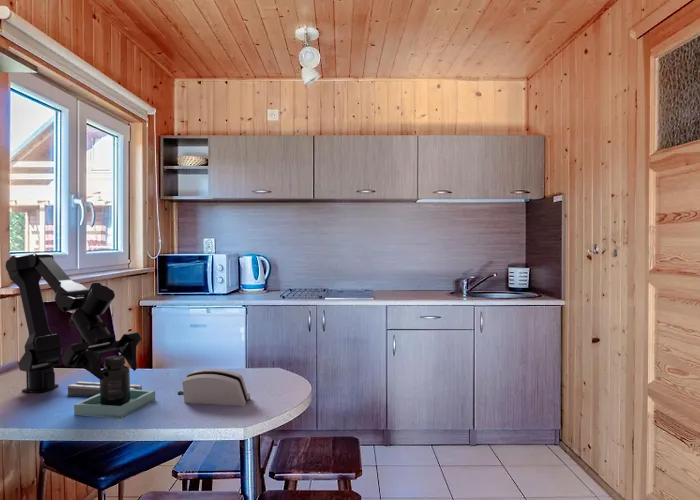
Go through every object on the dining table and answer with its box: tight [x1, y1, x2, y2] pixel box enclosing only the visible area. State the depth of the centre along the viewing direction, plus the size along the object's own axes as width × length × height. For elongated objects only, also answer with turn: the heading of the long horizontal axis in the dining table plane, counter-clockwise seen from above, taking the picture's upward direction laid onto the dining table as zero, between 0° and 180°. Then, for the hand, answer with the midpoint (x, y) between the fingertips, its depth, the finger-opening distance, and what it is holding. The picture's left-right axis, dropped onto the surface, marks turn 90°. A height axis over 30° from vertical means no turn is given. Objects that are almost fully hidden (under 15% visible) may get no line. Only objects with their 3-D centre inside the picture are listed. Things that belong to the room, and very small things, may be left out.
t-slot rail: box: [67, 381, 143, 398], centre depth 127 cm, size 20×4×3 cm, turn 78°
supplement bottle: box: [99, 355, 131, 406], centre depth 117 cm, size 7×7×12 cm
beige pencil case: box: [182, 368, 251, 407], centre depth 120 cm, size 17×5×10 cm, turn 80°
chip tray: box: [73, 389, 156, 419], centre depth 117 cm, size 13×13×2 cm
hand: (119, 374), depth 116 cm, fingers open, 9 cm apart
